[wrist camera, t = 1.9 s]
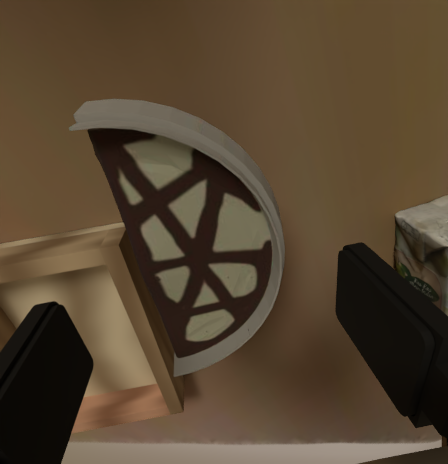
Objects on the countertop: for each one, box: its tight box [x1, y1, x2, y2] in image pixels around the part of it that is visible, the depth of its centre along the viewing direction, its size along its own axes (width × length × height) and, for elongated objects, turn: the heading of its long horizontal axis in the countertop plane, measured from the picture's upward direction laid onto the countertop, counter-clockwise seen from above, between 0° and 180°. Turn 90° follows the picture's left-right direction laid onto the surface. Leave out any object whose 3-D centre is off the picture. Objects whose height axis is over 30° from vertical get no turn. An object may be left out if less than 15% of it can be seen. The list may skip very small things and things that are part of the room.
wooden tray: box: [0, 222, 184, 433], centre depth 23 cm, size 12×18×3 cm
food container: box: [69, 99, 285, 377], centre depth 15 cm, size 12×6×10 cm, turn 10°
